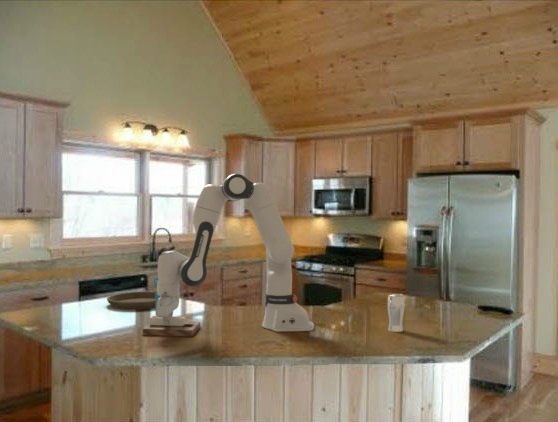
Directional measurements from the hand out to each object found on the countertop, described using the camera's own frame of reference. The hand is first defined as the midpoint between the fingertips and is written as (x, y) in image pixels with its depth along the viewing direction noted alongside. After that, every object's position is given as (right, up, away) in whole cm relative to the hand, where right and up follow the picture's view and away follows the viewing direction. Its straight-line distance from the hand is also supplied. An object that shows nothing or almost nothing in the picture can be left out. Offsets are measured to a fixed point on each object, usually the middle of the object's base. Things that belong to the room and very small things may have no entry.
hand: (167, 323), depth 195 cm
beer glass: (+95, -5, +7) cm, 96 cm away
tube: (-7, -3, +18) cm, 20 cm away
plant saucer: (-27, -3, +51) cm, 58 cm away
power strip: (0, -3, 0) cm, 3 cm away
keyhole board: (+2, -3, 0) cm, 4 cm away
